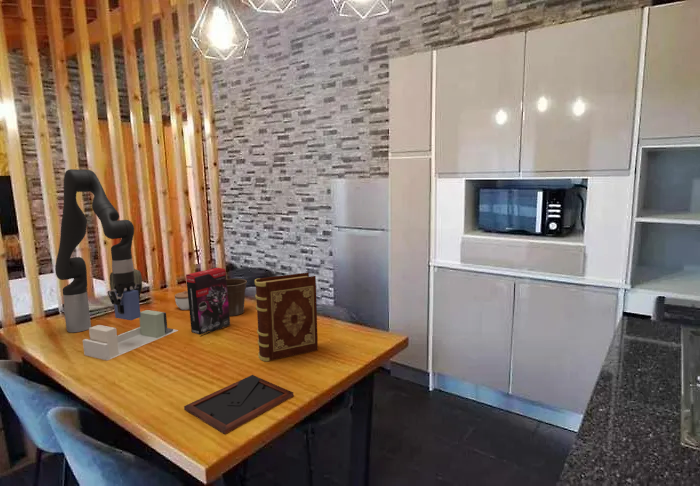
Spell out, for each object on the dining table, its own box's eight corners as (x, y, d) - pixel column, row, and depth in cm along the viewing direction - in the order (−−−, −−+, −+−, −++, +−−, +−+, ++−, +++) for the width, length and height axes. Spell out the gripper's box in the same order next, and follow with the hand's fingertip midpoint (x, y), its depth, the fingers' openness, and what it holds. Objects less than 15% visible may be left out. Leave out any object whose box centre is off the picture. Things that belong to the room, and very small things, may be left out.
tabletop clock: (111, 302, 237) (107, 258, 233) (122, 297, 246) (118, 255, 242) (135, 302, 235) (130, 258, 231) (145, 298, 243) (141, 255, 240)
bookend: (151, 330, 186) (149, 310, 185) (158, 327, 190) (156, 308, 188) (165, 333, 182) (164, 313, 181) (173, 330, 186) (171, 310, 184)
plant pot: (234, 306, 226) (232, 276, 223) (255, 311, 216) (253, 280, 214) (208, 314, 213) (206, 283, 210) (229, 320, 203) (227, 287, 201)
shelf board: (84, 357, 162) (82, 340, 161) (157, 328, 192) (156, 313, 191) (107, 363, 156) (105, 345, 155) (178, 332, 187) (177, 317, 186)
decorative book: (262, 362, 155) (258, 283, 150) (256, 355, 162) (252, 278, 157) (318, 350, 165) (316, 275, 160) (310, 343, 172) (308, 272, 167)
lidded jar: (182, 305, 229) (181, 288, 228) (201, 305, 228) (199, 288, 226) (171, 311, 219) (170, 293, 217) (190, 311, 217) (189, 294, 216)
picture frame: (252, 379, 143) (184, 411, 124) (252, 374, 143) (183, 405, 124) (293, 397, 131) (224, 436, 112) (293, 391, 130) (224, 429, 111)
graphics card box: (199, 337, 181) (195, 275, 176) (189, 334, 184) (184, 274, 180) (230, 326, 195) (227, 268, 191) (220, 323, 198) (217, 266, 194)
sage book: (140, 334, 182) (138, 312, 180) (148, 331, 186) (146, 309, 184) (157, 338, 178) (155, 315, 176) (165, 334, 181) (163, 312, 180)
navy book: (115, 317, 170) (112, 291, 168) (125, 314, 174) (122, 288, 172) (130, 320, 166) (128, 293, 165) (140, 317, 170) (138, 290, 169)
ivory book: (91, 354, 162) (88, 328, 161) (101, 350, 166) (98, 324, 164) (109, 358, 158) (106, 331, 156) (118, 354, 162) (116, 328, 160)
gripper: (132, 266, 175) (136, 306, 178) (99, 273, 162) (104, 316, 165) (145, 267, 172) (148, 307, 175) (113, 274, 159) (117, 318, 162)
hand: (127, 311), depth 170 cm, fingers closed on navy book, 4 cm apart
